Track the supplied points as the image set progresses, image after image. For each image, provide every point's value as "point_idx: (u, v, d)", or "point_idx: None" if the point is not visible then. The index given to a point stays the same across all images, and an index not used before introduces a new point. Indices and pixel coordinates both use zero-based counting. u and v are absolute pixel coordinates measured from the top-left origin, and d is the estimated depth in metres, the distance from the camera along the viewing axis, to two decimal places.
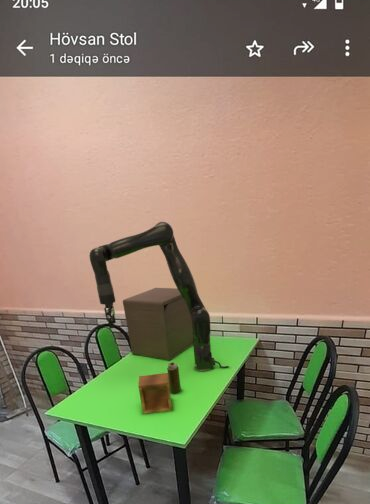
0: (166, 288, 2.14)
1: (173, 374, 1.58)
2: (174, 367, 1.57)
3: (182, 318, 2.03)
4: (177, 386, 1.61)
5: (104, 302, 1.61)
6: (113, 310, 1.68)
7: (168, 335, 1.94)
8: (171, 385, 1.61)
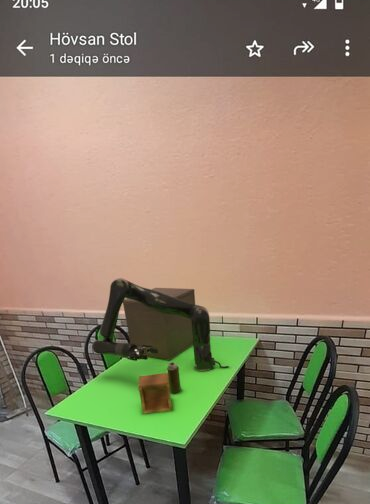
0: (166, 288, 2.14)
1: (173, 374, 1.58)
2: (174, 367, 1.57)
3: (182, 318, 2.03)
4: (177, 386, 1.61)
5: None
6: (142, 348, 1.65)
7: (168, 335, 1.94)
8: (171, 385, 1.61)
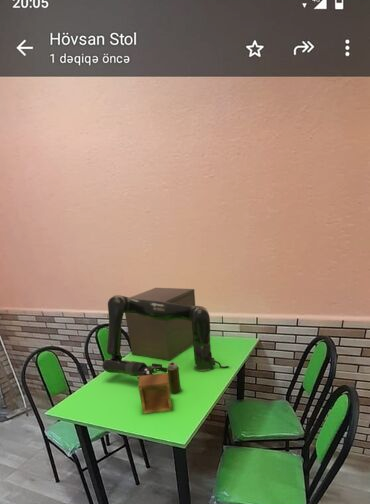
0: (166, 288, 2.14)
1: (173, 374, 1.58)
2: (174, 367, 1.57)
3: None
4: (177, 386, 1.61)
5: None
6: (152, 367, 1.68)
7: (168, 335, 1.94)
8: (171, 385, 1.61)
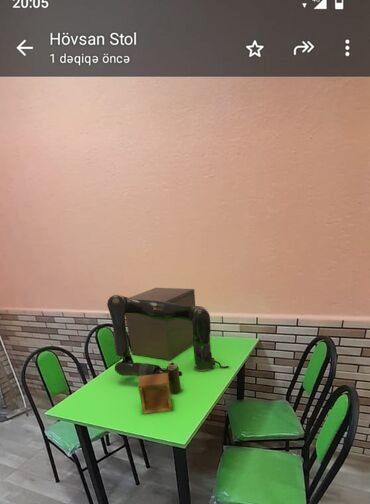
0: (166, 288, 2.14)
1: (173, 374, 1.58)
2: (174, 367, 1.57)
3: None
4: (177, 386, 1.61)
5: None
6: (166, 370, 1.64)
7: (168, 335, 1.94)
8: (171, 385, 1.61)
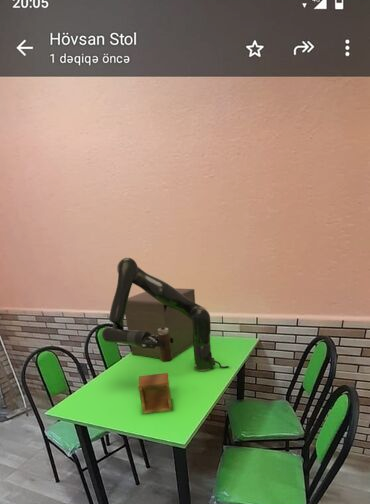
0: None
1: (163, 340, 1.46)
2: (165, 332, 1.45)
3: (182, 318, 2.03)
4: (168, 354, 1.49)
5: (141, 344, 1.52)
6: (156, 336, 1.52)
7: None
8: (162, 352, 1.49)
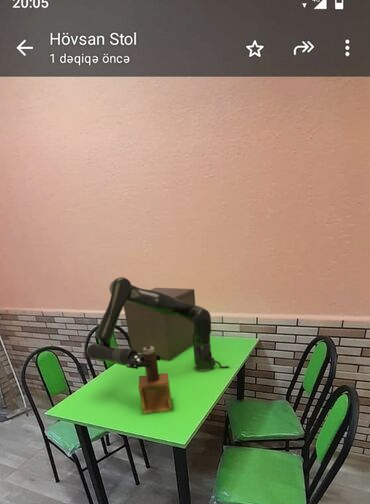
0: (166, 288, 2.14)
1: (149, 359, 1.39)
2: (150, 351, 1.38)
3: (182, 318, 2.03)
4: (154, 373, 1.43)
5: None
6: None
7: (168, 335, 1.94)
8: (148, 372, 1.43)
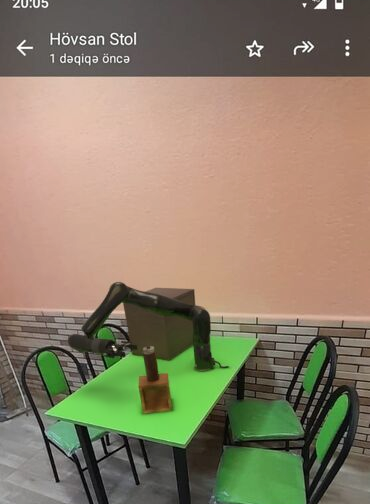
0: (166, 288, 2.14)
1: (149, 359, 1.39)
2: (150, 351, 1.38)
3: (182, 318, 2.03)
4: (154, 373, 1.43)
5: None
6: (120, 344, 1.51)
7: (168, 335, 1.94)
8: (148, 372, 1.43)
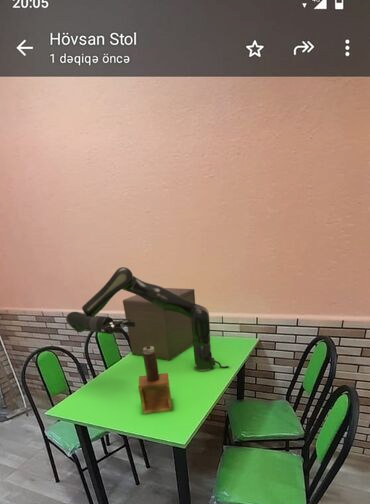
0: (166, 288, 2.14)
1: (149, 359, 1.39)
2: (150, 351, 1.38)
3: (182, 318, 2.03)
4: (154, 373, 1.43)
5: None
6: (118, 321, 1.52)
7: (168, 335, 1.94)
8: (148, 372, 1.43)
